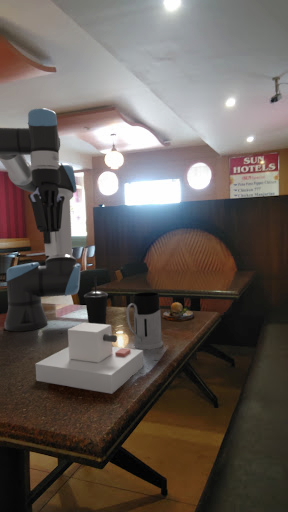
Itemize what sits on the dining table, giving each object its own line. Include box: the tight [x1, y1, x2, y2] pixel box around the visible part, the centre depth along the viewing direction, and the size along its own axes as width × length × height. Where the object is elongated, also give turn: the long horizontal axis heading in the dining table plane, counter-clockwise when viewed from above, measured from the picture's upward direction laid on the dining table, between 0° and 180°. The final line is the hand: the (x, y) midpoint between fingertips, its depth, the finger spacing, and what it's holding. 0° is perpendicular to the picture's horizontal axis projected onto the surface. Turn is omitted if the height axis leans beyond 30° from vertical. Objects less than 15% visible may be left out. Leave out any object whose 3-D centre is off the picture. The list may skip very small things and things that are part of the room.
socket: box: [34, 346, 145, 395], centre depth 84 cm, size 20×16×5 cm
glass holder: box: [125, 291, 164, 350], centre depth 102 cm, size 9×14×15 cm, turn 147°
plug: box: [67, 322, 118, 363], centre depth 84 cm, size 11×6×11 cm, turn 66°
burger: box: [162, 300, 194, 322], centre depth 136 cm, size 12×12×8 cm
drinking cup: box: [83, 274, 109, 325], centre depth 115 cm, size 8×8×20 cm
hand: (50, 255), depth 99 cm, fingers closed
